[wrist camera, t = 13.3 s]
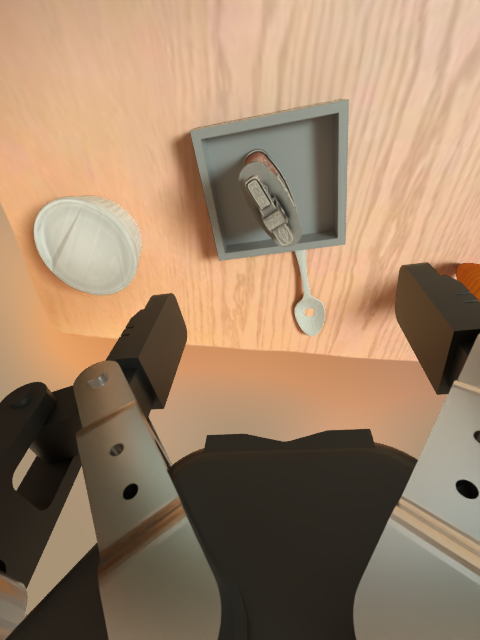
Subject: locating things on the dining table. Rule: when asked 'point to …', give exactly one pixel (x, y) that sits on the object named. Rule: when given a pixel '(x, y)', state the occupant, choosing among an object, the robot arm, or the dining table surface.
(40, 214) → the ramekin
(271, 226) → the lighter
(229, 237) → the tray
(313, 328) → the spoon
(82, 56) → the dining table surface
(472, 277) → the carrot
